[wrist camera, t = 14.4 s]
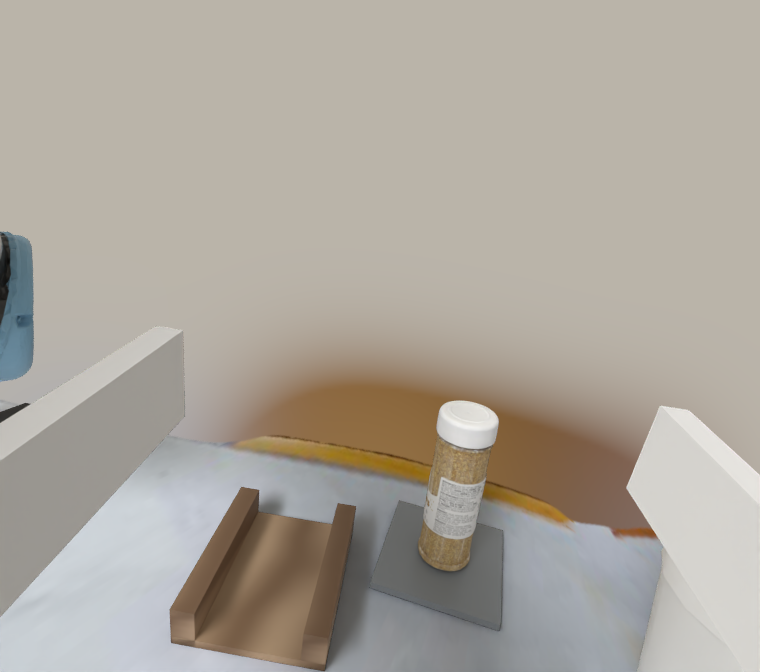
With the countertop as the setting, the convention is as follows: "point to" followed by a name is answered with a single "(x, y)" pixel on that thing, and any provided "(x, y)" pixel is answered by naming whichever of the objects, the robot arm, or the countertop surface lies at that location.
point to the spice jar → (456, 483)
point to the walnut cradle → (266, 586)
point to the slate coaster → (442, 571)
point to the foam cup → (682, 630)
